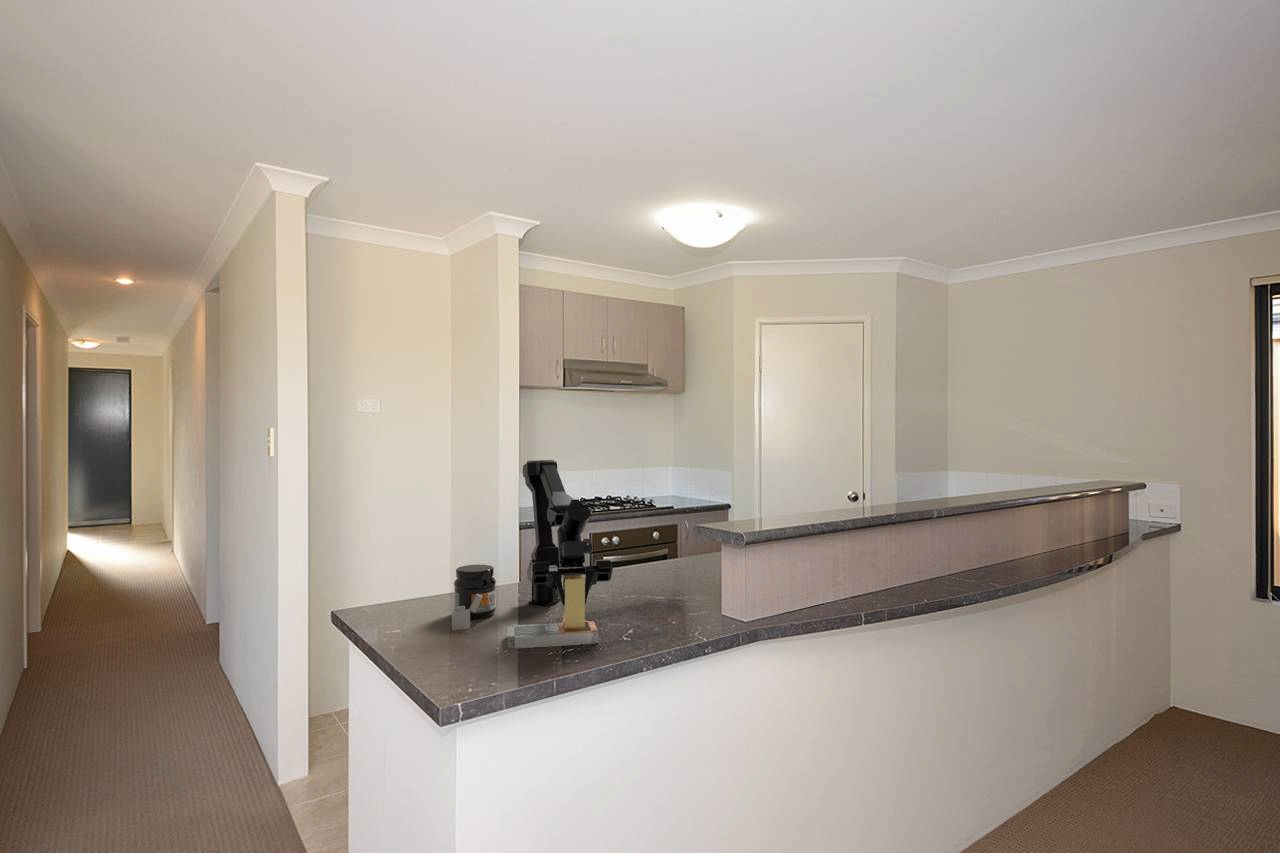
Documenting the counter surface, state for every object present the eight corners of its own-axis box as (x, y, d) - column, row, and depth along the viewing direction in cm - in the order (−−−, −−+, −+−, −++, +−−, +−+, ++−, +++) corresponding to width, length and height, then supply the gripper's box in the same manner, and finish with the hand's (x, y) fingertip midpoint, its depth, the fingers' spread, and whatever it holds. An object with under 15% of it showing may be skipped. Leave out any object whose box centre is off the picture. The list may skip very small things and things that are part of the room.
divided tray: (507, 648, 156) (507, 636, 156) (507, 636, 165) (507, 624, 165) (598, 643, 160) (598, 631, 160) (593, 631, 168) (593, 620, 168)
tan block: (564, 636, 161) (565, 579, 160) (563, 630, 165) (563, 575, 165) (584, 635, 161) (584, 578, 161) (582, 629, 166) (582, 574, 166)
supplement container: (501, 616, 181) (501, 569, 181) (460, 622, 176) (460, 574, 176) (488, 607, 190) (488, 562, 190) (448, 612, 185) (448, 566, 185)
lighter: (452, 630, 169) (452, 596, 169) (451, 628, 171) (451, 595, 171) (482, 627, 172) (482, 594, 172) (481, 625, 173) (481, 592, 173)
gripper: (532, 527, 165) (534, 586, 154) (611, 525, 168) (619, 583, 158) (530, 554, 173) (532, 612, 162) (606, 552, 176) (613, 608, 166)
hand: (574, 603), depth 162 cm, fingers closed on tan block, 4 cm apart
